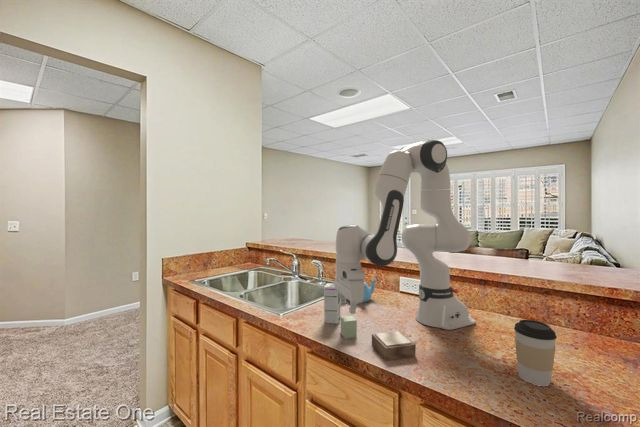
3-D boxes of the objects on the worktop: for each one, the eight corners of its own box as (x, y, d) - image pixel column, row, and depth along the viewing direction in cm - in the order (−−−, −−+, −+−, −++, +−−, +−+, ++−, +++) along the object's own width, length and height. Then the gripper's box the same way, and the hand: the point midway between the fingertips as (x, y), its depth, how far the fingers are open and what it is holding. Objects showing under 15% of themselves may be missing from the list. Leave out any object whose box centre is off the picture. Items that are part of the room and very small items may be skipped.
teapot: (352, 293, 153) (352, 274, 153) (379, 298, 145) (378, 278, 145) (338, 300, 141) (338, 280, 141) (365, 306, 133) (365, 284, 133)
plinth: (399, 341, 98) (399, 329, 98) (415, 356, 88) (415, 343, 88) (371, 344, 95) (371, 332, 95) (385, 360, 86) (385, 347, 86)
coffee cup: (537, 369, 81) (537, 316, 81) (565, 389, 72) (566, 329, 72) (505, 369, 81) (506, 316, 80) (530, 390, 71) (531, 330, 71)
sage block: (352, 331, 106) (352, 315, 106) (356, 337, 101) (356, 320, 101) (340, 333, 105) (340, 316, 104) (344, 338, 100) (344, 321, 100)
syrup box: (338, 324, 113) (338, 287, 112) (323, 322, 114) (323, 286, 114) (340, 318, 118) (340, 283, 118) (326, 317, 119) (326, 282, 119)
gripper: (331, 265, 112) (330, 301, 111) (349, 275, 92) (349, 319, 91) (346, 265, 113) (346, 300, 113) (367, 275, 93) (367, 318, 93)
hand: (347, 309), depth 102 cm, fingers open, 8 cm apart
